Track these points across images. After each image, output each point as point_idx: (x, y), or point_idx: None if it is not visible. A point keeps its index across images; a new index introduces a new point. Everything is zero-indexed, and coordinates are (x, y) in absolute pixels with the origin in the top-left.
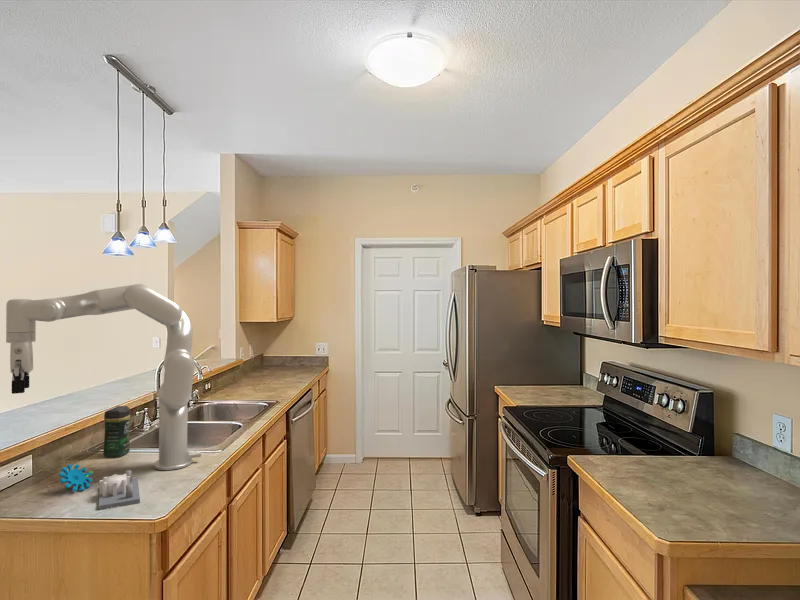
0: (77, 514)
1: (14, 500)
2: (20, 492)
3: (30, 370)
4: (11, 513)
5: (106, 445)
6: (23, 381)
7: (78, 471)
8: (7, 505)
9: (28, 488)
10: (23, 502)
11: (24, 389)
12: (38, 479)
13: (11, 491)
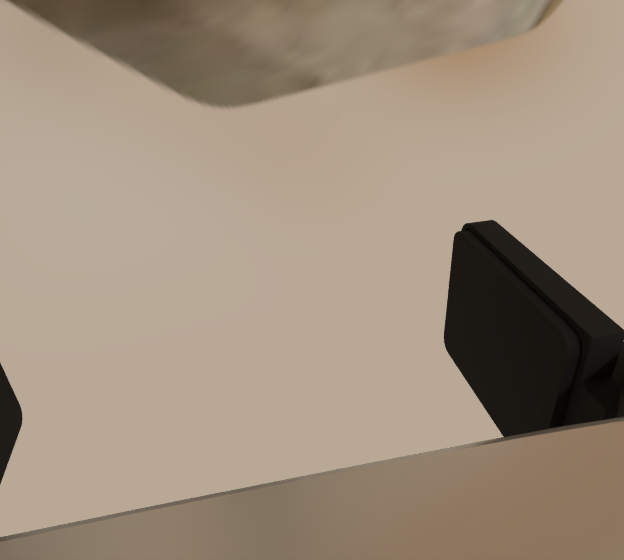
0: None
1: (366, 47)
2: (274, 46)
3: (573, 470)
4: (506, 23)
5: None
6: (599, 329)
7: None
8: (411, 60)
9: (231, 23)
10: (409, 4)
11: (507, 236)
12: (101, 3)
13: (245, 88)
